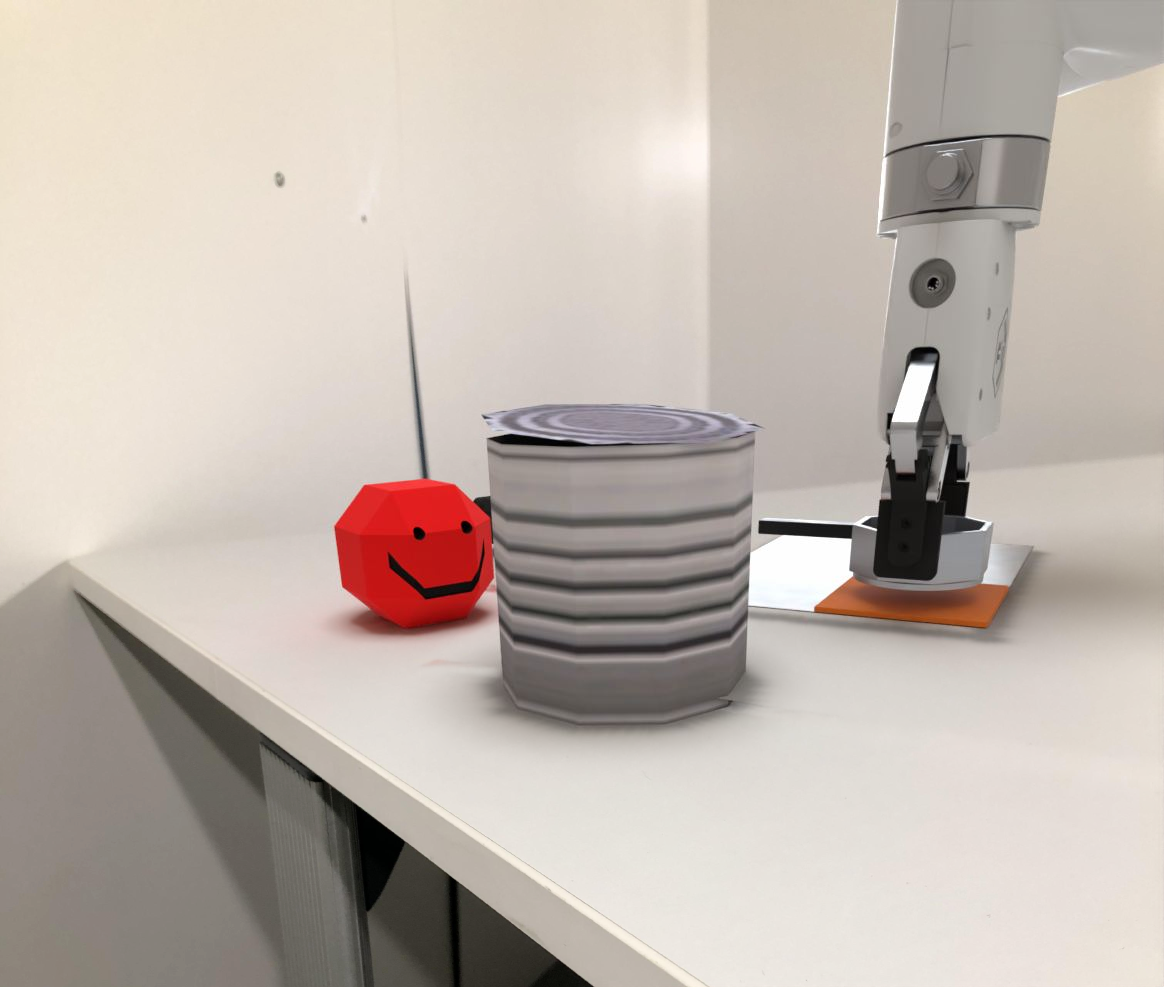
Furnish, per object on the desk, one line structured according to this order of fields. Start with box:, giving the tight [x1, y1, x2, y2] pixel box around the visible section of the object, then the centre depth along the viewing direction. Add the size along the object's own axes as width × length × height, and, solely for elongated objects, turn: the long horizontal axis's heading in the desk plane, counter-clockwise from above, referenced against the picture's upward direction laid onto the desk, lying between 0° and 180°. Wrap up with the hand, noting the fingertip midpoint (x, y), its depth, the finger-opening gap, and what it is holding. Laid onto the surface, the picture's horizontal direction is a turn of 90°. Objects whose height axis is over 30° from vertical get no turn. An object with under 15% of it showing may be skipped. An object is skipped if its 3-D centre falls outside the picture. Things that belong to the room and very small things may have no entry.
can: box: [481, 403, 766, 726], centre depth 42 cm, size 11×11×12 cm
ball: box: [333, 478, 495, 630], centre depth 55 cm, size 8×8×8 cm
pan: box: [757, 514, 994, 591], centre depth 55 cm, size 13×7×3 cm, turn 61°
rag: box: [814, 576, 1010, 628], centre depth 54 cm, size 9×9×1 cm
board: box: [748, 535, 1035, 630], centre depth 63 cm, size 24×18×1 cm
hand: (919, 561), depth 54 cm, fingers closed on pan, 7 cm apart
